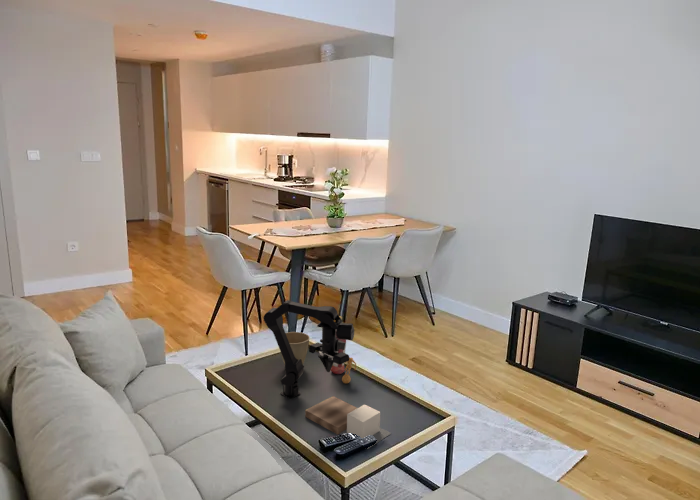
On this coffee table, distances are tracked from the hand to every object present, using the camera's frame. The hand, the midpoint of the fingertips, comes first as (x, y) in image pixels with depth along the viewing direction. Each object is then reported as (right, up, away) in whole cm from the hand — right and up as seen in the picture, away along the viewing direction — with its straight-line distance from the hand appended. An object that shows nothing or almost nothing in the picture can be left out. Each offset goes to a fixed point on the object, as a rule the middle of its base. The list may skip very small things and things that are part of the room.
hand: (328, 371), depth 216 cm
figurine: (+8, -10, +19) cm, 23 cm away
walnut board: (+3, -16, -11) cm, 19 cm away
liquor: (+3, -7, +29) cm, 30 cm away
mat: (+15, -19, -21) cm, 32 cm away
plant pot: (-18, -6, +32) cm, 37 cm away
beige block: (+11, -14, -19) cm, 26 cm away
